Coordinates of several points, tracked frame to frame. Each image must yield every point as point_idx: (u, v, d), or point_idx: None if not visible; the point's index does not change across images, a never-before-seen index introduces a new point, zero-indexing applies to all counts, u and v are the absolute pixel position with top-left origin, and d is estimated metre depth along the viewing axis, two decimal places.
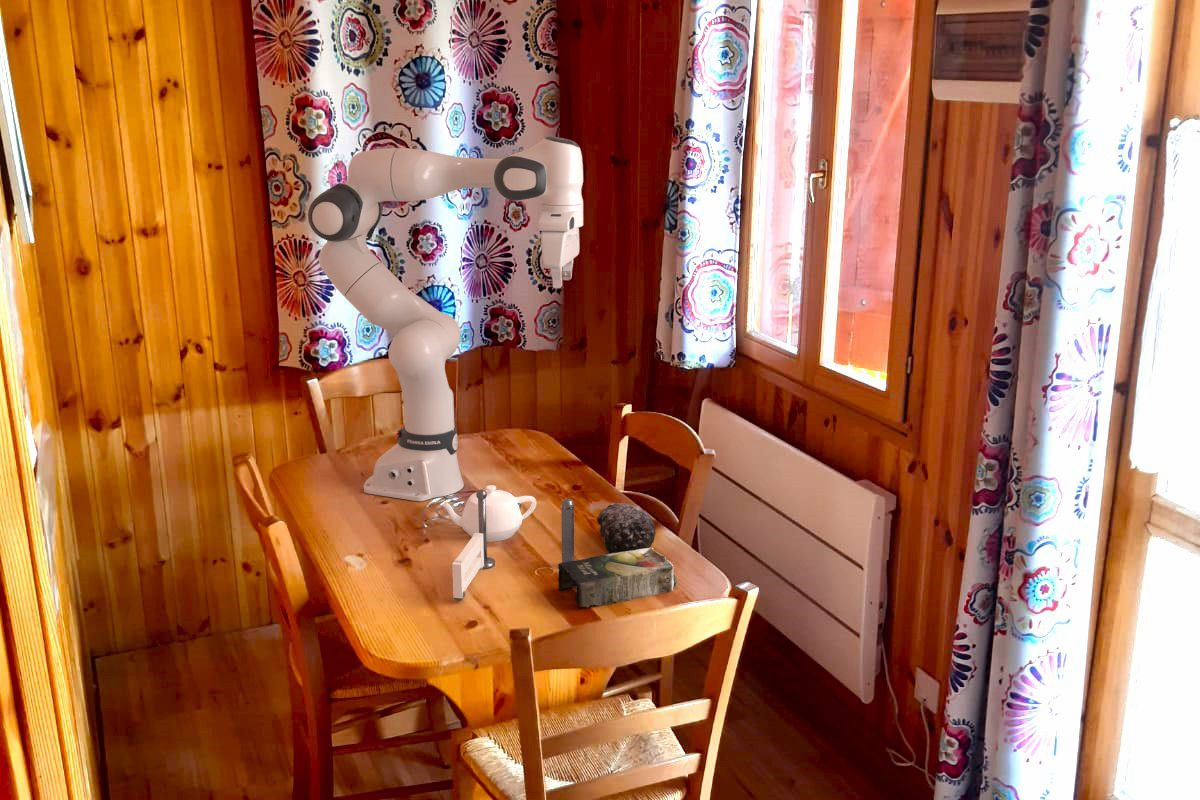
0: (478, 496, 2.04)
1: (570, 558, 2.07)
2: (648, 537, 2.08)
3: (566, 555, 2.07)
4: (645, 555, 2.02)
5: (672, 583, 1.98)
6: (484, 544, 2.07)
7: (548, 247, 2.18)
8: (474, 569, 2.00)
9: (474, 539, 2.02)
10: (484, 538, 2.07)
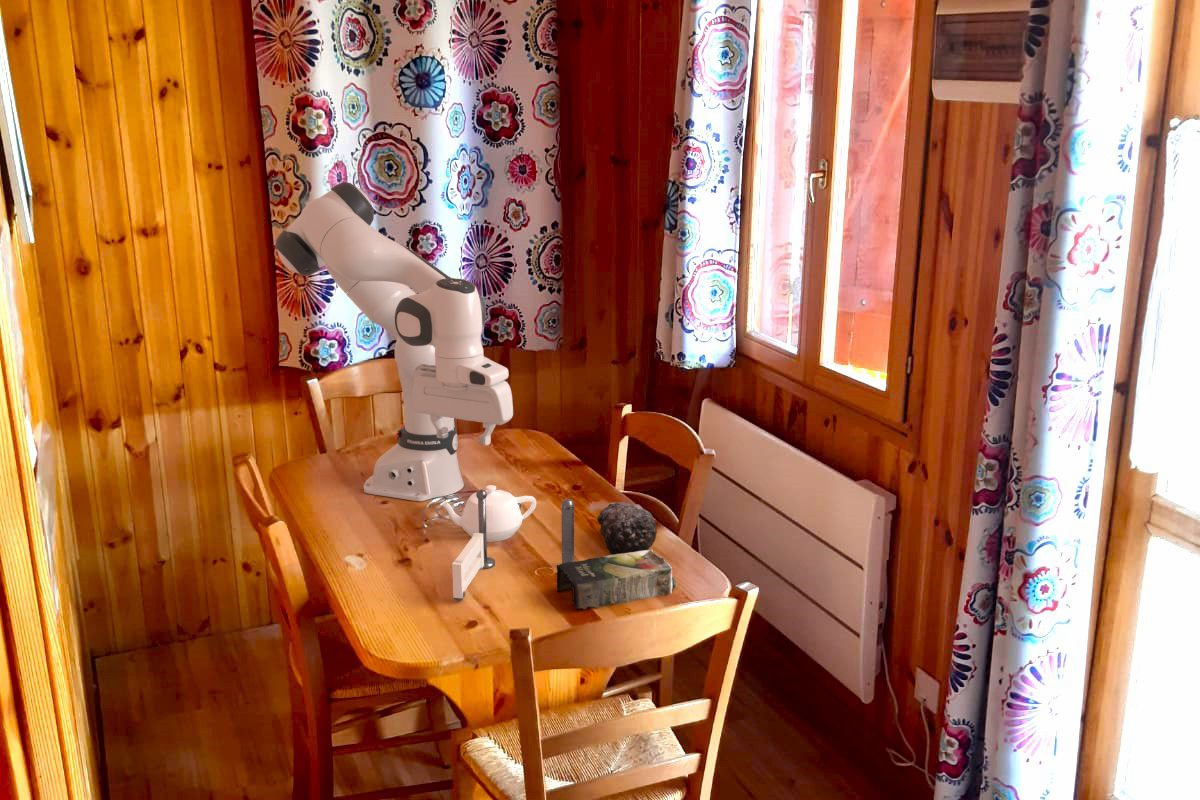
0: (478, 496, 2.04)
1: (570, 558, 2.07)
2: (650, 536, 2.09)
3: (566, 555, 2.07)
4: (644, 557, 2.01)
5: (671, 585, 1.97)
6: (484, 544, 2.07)
7: (504, 401, 1.95)
8: (474, 569, 2.00)
9: (474, 539, 2.02)
10: (484, 538, 2.07)
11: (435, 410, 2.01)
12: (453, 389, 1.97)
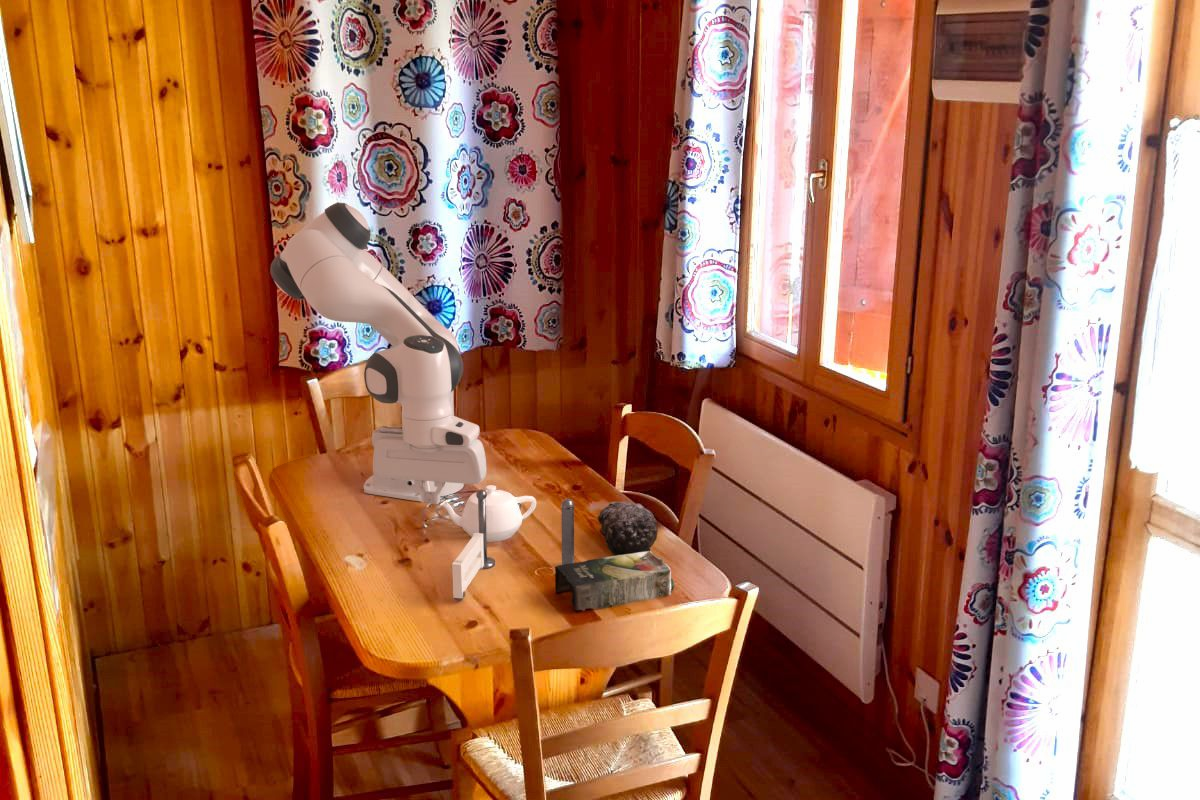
0: (478, 496, 2.04)
1: (570, 558, 2.07)
2: (651, 535, 2.09)
3: (566, 555, 2.07)
4: (643, 558, 2.00)
5: (669, 587, 1.96)
6: (484, 544, 2.07)
7: (481, 459, 1.90)
8: (474, 569, 2.00)
9: (474, 539, 2.02)
10: (484, 538, 2.07)
11: (400, 474, 1.92)
12: (425, 451, 1.89)
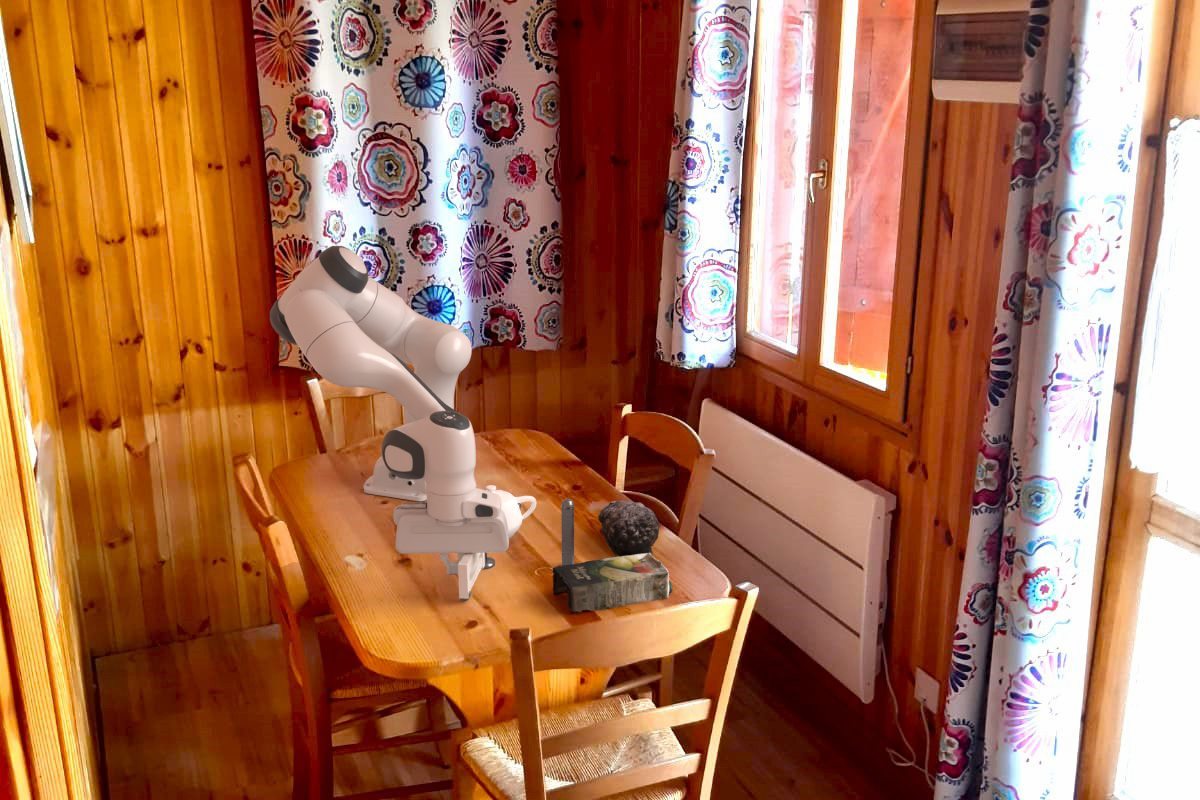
0: None
1: (570, 558, 2.07)
2: (653, 533, 2.10)
3: (566, 555, 2.07)
4: (642, 560, 1.99)
5: (667, 589, 1.95)
6: None
7: (506, 528, 1.95)
8: (477, 569, 2.00)
9: None
10: None
11: (425, 548, 1.94)
12: (453, 525, 1.92)
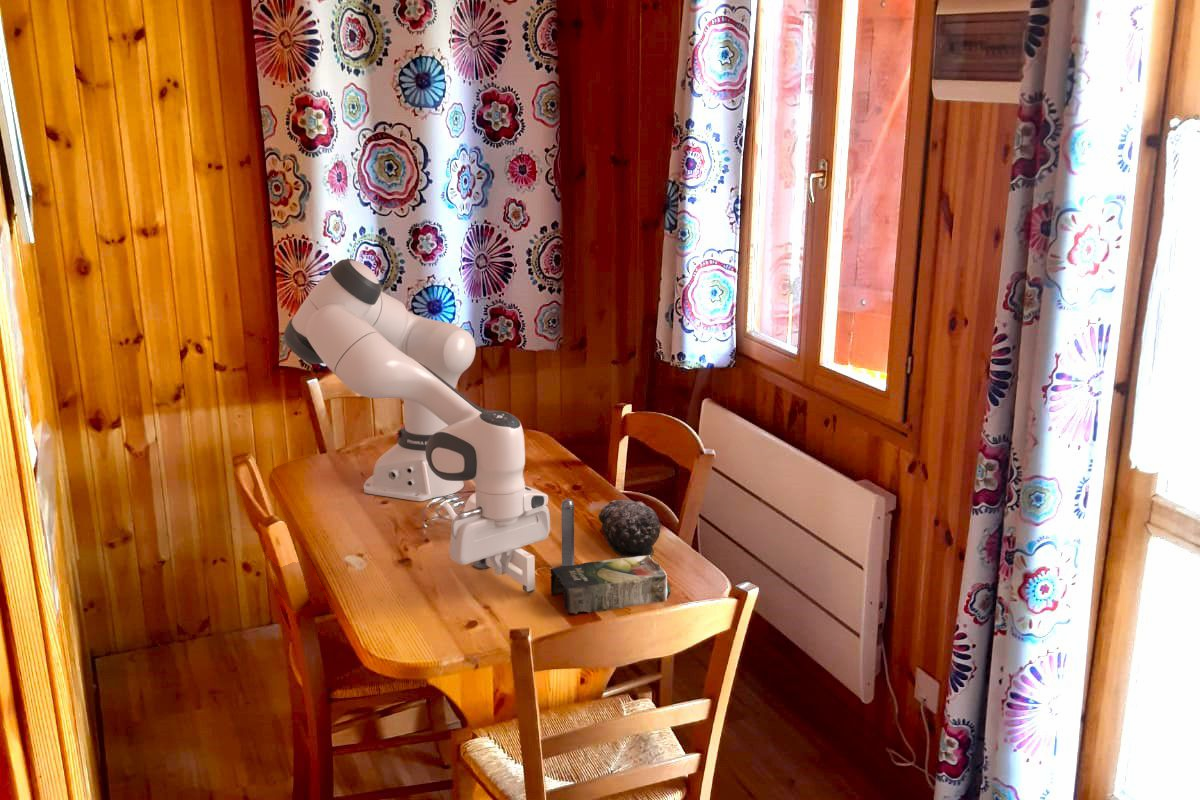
0: None
1: (570, 558, 2.07)
2: (655, 532, 2.10)
3: (566, 555, 2.07)
4: (641, 562, 1.98)
5: (665, 592, 1.94)
6: None
7: None
8: None
9: None
10: None
11: (485, 553, 1.92)
12: (513, 522, 1.93)
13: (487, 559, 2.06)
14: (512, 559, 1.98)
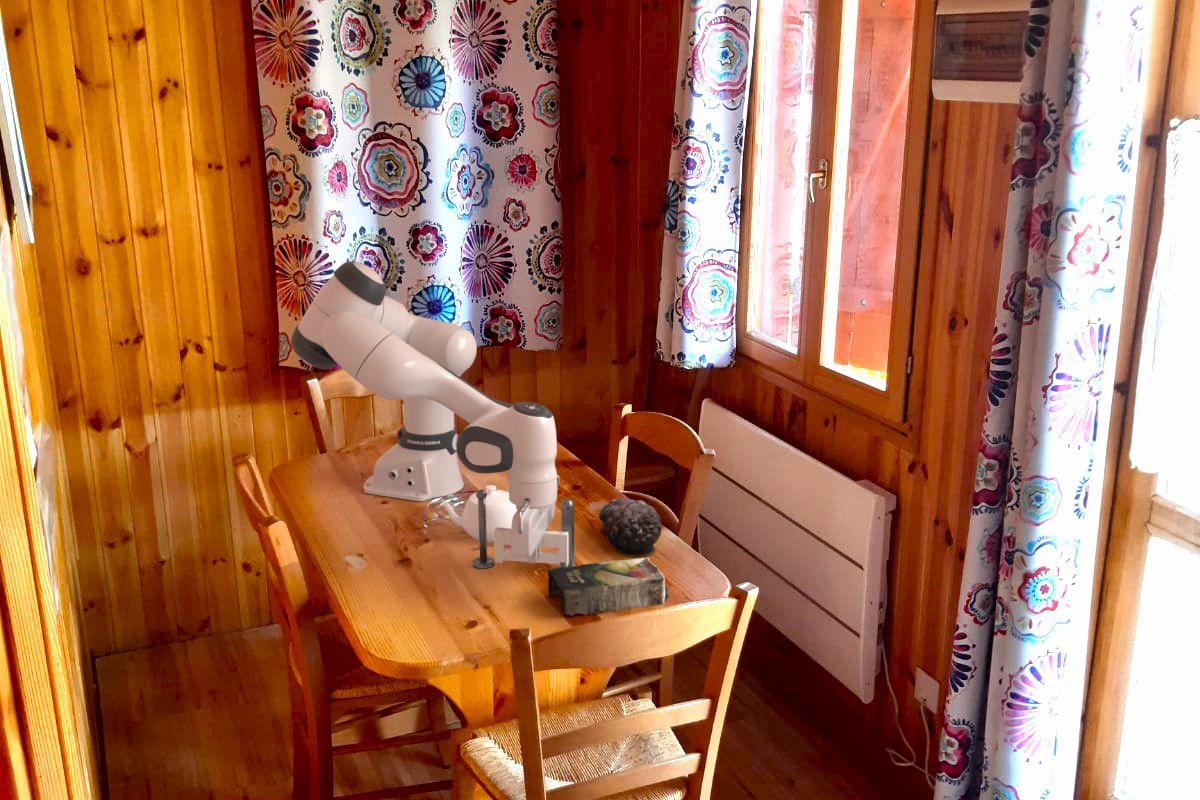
0: (478, 496, 2.04)
1: (570, 558, 2.07)
2: (656, 531, 2.11)
3: None
4: (639, 565, 1.97)
5: (663, 595, 1.93)
6: (484, 544, 2.07)
7: None
8: None
9: (510, 529, 2.06)
10: (484, 538, 2.07)
11: (537, 541, 1.97)
12: (550, 506, 2.00)
13: (496, 556, 2.07)
14: (541, 543, 2.05)
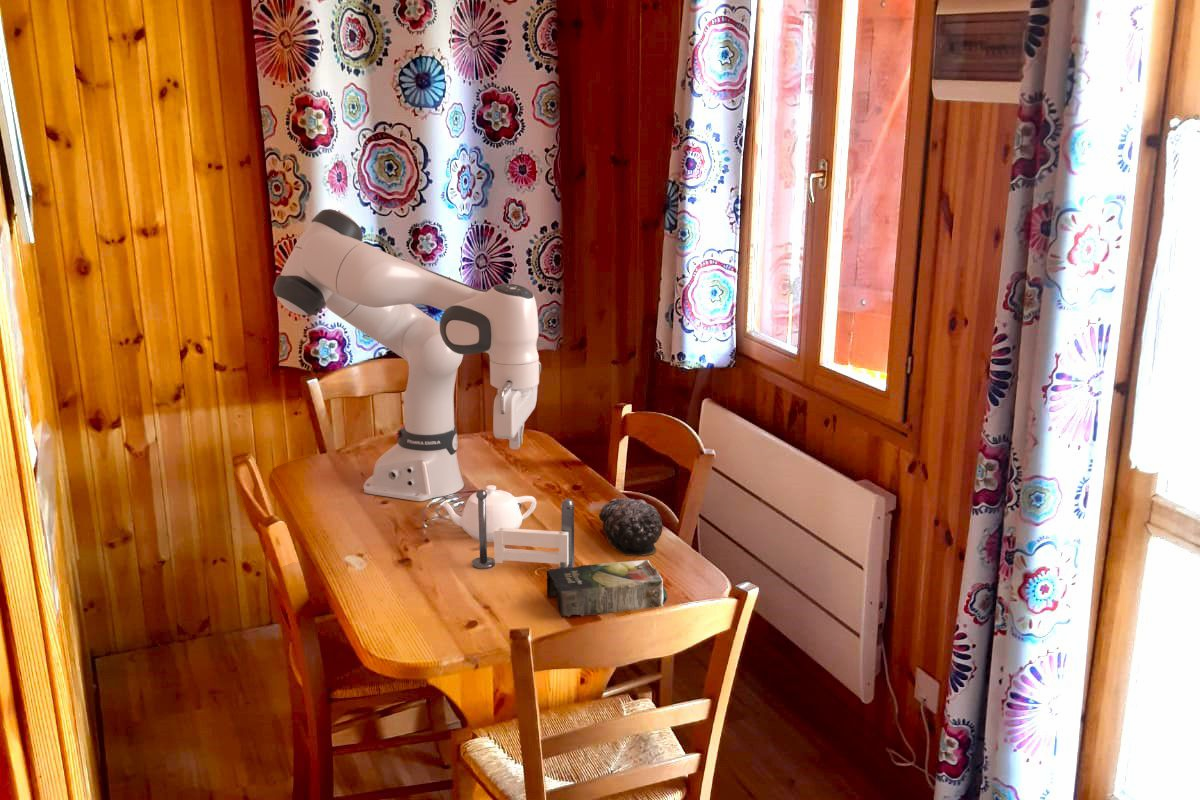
0: (478, 496, 2.04)
1: (570, 558, 2.07)
2: (657, 530, 2.12)
3: None
4: (638, 567, 1.97)
5: (661, 598, 1.92)
6: (484, 544, 2.07)
7: None
8: None
9: (510, 529, 2.06)
10: (484, 538, 2.07)
11: (519, 425, 1.95)
12: None
13: (496, 556, 2.07)
14: (541, 543, 2.05)
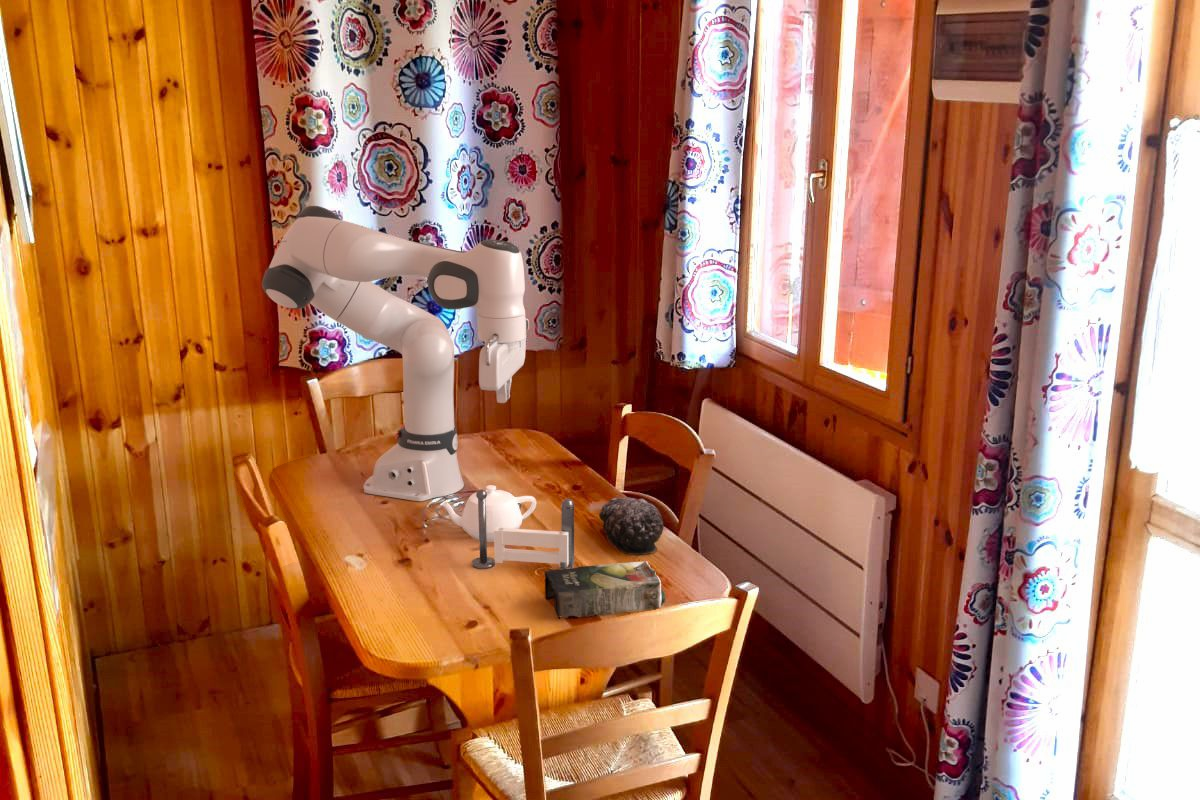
0: (478, 496, 2.04)
1: (570, 558, 2.07)
2: (658, 529, 2.12)
3: None
4: (637, 568, 1.96)
5: (659, 599, 1.91)
6: (484, 544, 2.07)
7: None
8: None
9: (510, 529, 2.06)
10: (484, 538, 2.07)
11: (505, 378, 1.99)
12: (518, 345, 2.02)
13: (496, 556, 2.07)
14: (541, 543, 2.05)
